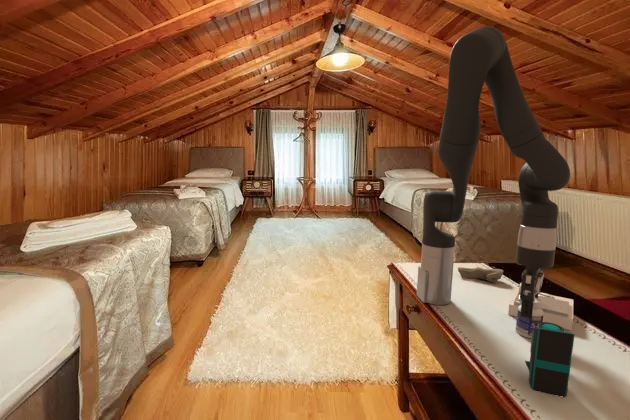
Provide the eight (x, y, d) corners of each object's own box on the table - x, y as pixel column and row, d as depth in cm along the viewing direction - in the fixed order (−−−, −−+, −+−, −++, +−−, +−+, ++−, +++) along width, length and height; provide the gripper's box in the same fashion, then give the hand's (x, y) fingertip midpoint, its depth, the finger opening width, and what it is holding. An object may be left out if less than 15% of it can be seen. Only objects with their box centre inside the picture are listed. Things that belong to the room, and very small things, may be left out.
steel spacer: (524, 301, 92) (525, 287, 91) (515, 295, 96) (516, 282, 95) (538, 301, 92) (539, 287, 91) (528, 295, 96) (530, 282, 95)
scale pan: (568, 317, 84) (568, 314, 84) (513, 304, 92) (513, 301, 91) (568, 304, 92) (569, 301, 92) (518, 293, 99) (518, 291, 99)
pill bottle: (532, 341, 78) (536, 305, 77) (510, 331, 83) (514, 297, 82) (545, 336, 81) (549, 301, 80) (523, 326, 85) (527, 293, 84)
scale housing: (571, 330, 84) (573, 317, 83) (508, 314, 92) (509, 302, 92) (572, 309, 96) (573, 298, 96) (516, 297, 105) (517, 286, 104)
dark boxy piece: (558, 311, 67) (576, 334, 57) (551, 366, 68) (567, 398, 59) (525, 306, 69) (537, 328, 59) (519, 360, 70) (530, 390, 61)
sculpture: (457, 281, 121) (504, 285, 115) (457, 268, 121) (504, 271, 114) (458, 276, 128) (502, 279, 121) (458, 264, 127) (502, 266, 121)
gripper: (552, 253, 70) (544, 326, 72) (558, 243, 81) (551, 306, 83) (511, 247, 75) (505, 315, 77) (522, 238, 86) (516, 298, 88)
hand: (529, 310), depth 80 cm, fingers open, 8 cm apart
